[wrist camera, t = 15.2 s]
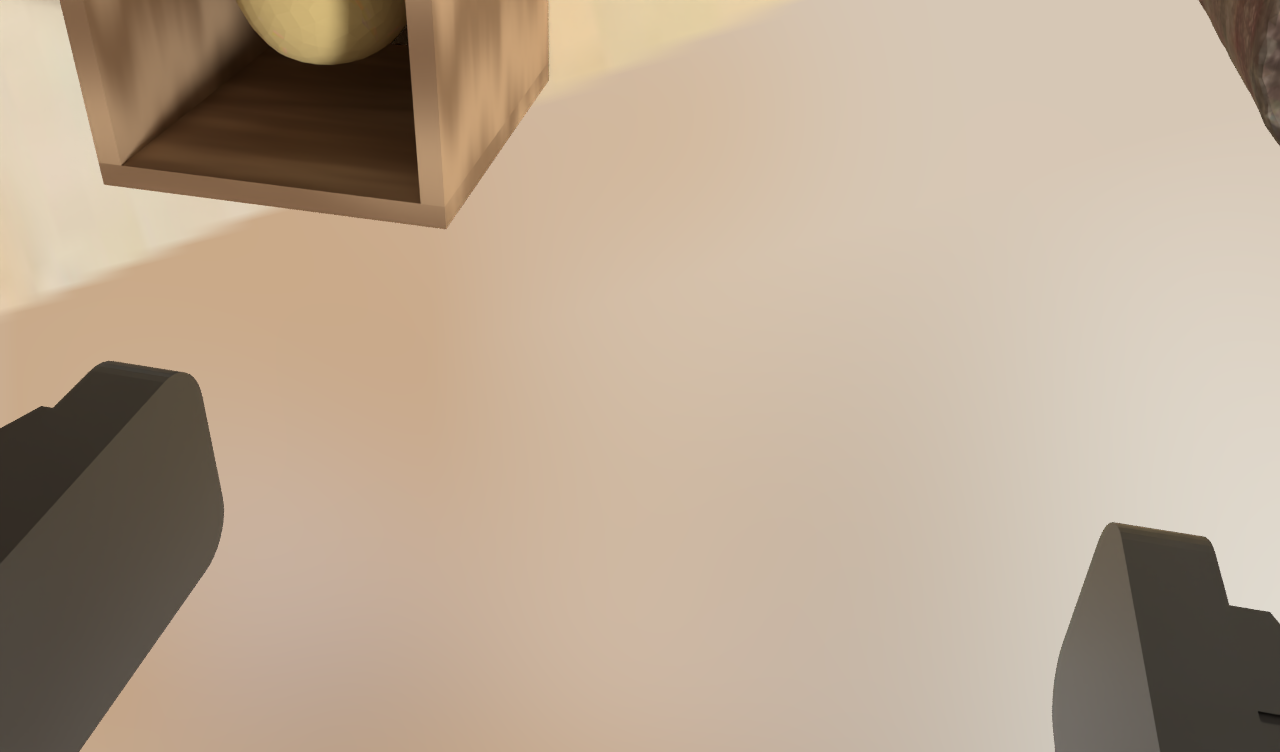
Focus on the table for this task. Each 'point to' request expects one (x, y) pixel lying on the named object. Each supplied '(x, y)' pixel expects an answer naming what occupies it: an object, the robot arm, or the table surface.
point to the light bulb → (326, 27)
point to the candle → (1253, 49)
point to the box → (306, 105)
